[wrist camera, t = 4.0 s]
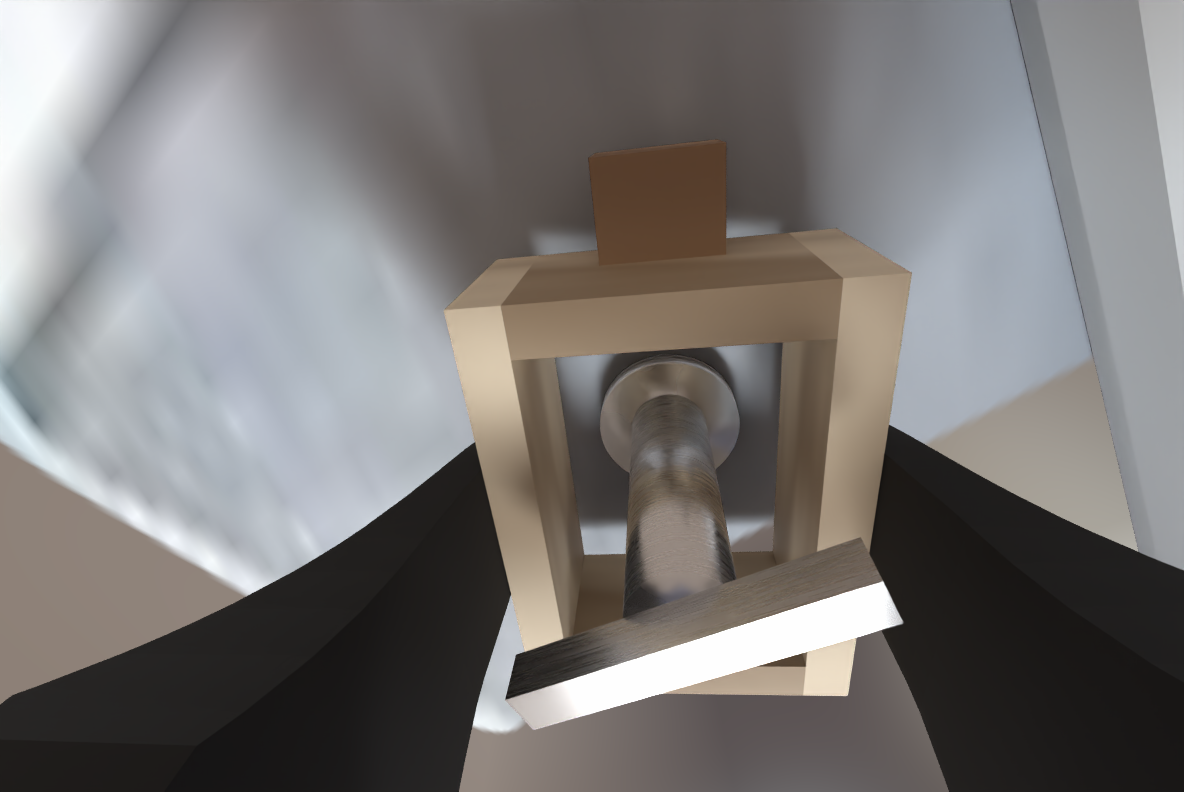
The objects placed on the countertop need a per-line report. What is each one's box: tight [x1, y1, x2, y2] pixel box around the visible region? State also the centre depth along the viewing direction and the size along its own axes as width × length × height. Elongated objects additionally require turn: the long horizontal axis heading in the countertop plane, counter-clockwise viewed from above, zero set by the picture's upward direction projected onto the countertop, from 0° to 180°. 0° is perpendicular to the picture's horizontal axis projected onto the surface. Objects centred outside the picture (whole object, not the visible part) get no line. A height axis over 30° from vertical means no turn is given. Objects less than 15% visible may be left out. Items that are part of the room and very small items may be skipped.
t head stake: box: [505, 354, 903, 730], centre depth 10 cm, size 3×5×6 cm, turn 121°
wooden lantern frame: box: [444, 139, 912, 696], centre depth 10 cm, size 10×6×3 cm, turn 6°
